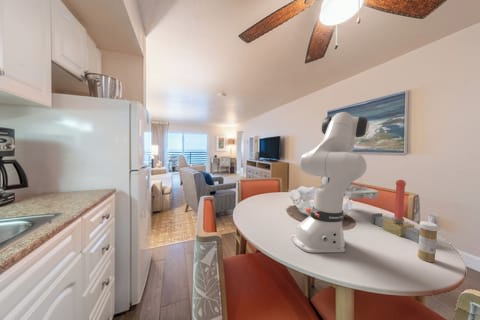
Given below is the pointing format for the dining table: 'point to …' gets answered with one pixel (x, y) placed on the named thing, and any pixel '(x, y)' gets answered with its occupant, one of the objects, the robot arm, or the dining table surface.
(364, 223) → the dining table surface
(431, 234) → the sprinkles bottle
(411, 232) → the valve body
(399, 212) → the lever
